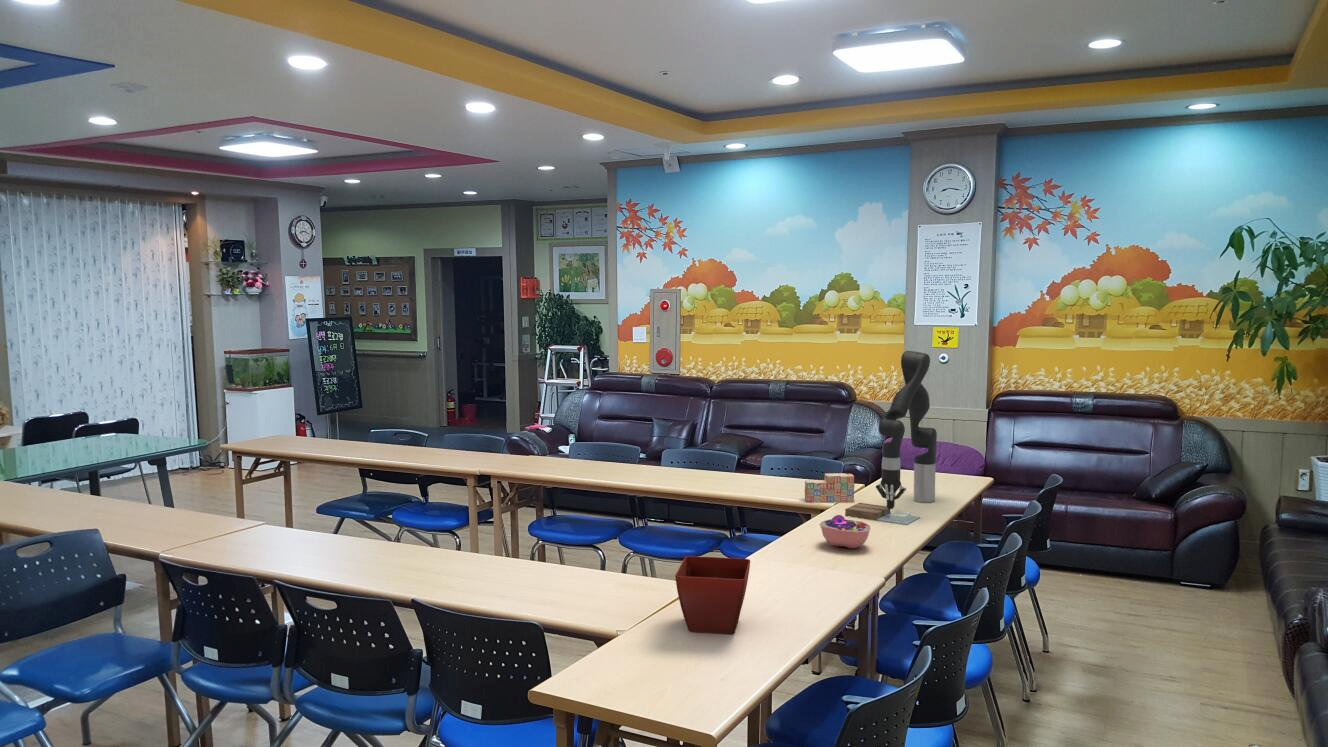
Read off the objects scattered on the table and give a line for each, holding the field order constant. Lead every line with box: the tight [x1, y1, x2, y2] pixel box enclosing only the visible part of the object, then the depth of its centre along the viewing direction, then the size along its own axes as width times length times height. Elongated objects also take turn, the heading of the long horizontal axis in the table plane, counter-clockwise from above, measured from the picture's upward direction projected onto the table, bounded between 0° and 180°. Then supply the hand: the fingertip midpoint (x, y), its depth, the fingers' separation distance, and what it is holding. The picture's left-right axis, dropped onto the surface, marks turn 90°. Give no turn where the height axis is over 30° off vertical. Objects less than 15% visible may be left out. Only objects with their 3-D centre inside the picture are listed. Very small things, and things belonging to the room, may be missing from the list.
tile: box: [890, 510, 912, 521], centre depth 368 cm, size 8×6×2 cm
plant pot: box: [675, 555, 751, 635], centre depth 249 cm, size 19×19×17 cm
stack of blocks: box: [804, 472, 855, 504], centre depth 403 cm, size 21×6×12 cm, turn 89°
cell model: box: [819, 514, 871, 549], centre depth 328 cm, size 17×20×11 cm
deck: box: [844, 502, 891, 522], centre depth 377 cm, size 14×14×3 cm
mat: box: [876, 512, 921, 526], centre depth 369 cm, size 14×13×1 cm
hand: (890, 508), depth 371 cm, fingers closed
